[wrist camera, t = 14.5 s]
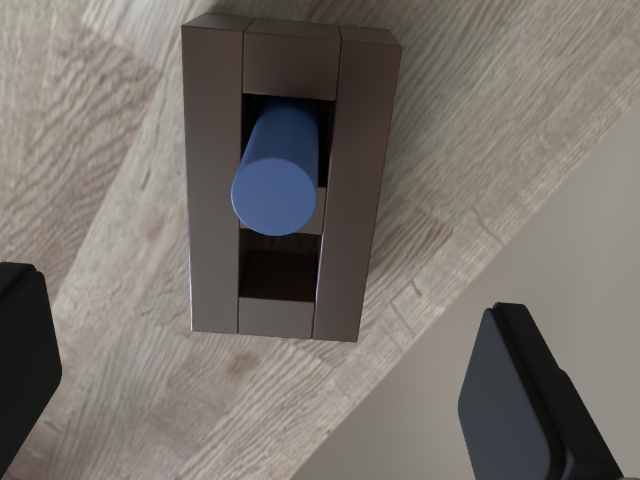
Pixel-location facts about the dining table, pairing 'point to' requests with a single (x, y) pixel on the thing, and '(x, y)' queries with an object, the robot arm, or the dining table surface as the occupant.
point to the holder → (333, 171)
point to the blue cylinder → (279, 167)
